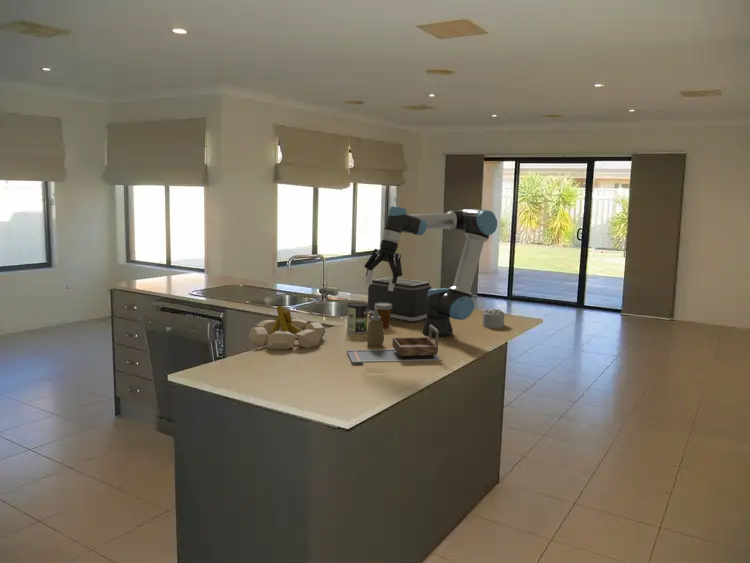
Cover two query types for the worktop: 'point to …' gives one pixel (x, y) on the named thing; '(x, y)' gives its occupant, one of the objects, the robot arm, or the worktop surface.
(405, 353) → the cart
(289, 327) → the campfire
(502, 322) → the lumpy-topped squat cylinder
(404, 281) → the toaster
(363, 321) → the coffee can
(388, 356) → the track
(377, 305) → the disposable coffee cup
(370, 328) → the squeeze bottle
